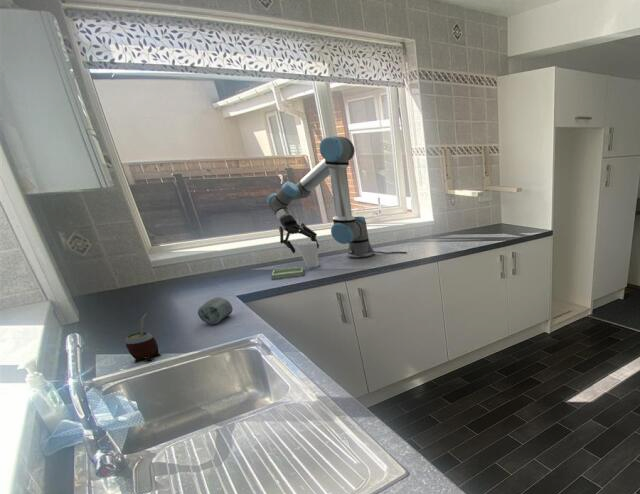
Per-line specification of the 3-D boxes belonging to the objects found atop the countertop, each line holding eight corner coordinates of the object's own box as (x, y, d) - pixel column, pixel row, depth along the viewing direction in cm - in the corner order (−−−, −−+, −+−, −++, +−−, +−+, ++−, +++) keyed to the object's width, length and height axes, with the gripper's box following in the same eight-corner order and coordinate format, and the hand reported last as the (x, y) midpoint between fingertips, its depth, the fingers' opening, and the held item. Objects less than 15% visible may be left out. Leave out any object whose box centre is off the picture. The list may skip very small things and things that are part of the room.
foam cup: (303, 265, 237) (297, 242, 232) (321, 263, 241) (315, 240, 235) (303, 269, 230) (297, 245, 224) (321, 267, 233) (316, 243, 227)
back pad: (303, 270, 228) (302, 266, 227) (303, 275, 218) (302, 271, 217) (274, 274, 222) (272, 270, 221) (272, 279, 213) (271, 275, 212)
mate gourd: (131, 359, 132) (110, 314, 125) (162, 350, 137) (143, 307, 131) (136, 366, 127) (115, 320, 121) (168, 356, 133) (148, 312, 126)
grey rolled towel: (221, 318, 153) (204, 294, 152) (200, 330, 154) (184, 307, 153) (245, 314, 167) (230, 291, 165) (226, 325, 168) (211, 303, 166)
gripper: (306, 220, 246) (325, 249, 244) (262, 227, 229) (282, 258, 227) (309, 211, 241) (328, 241, 239) (264, 217, 223) (285, 249, 221)
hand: (306, 249), depth 233 cm, fingers open, 13 cm apart
